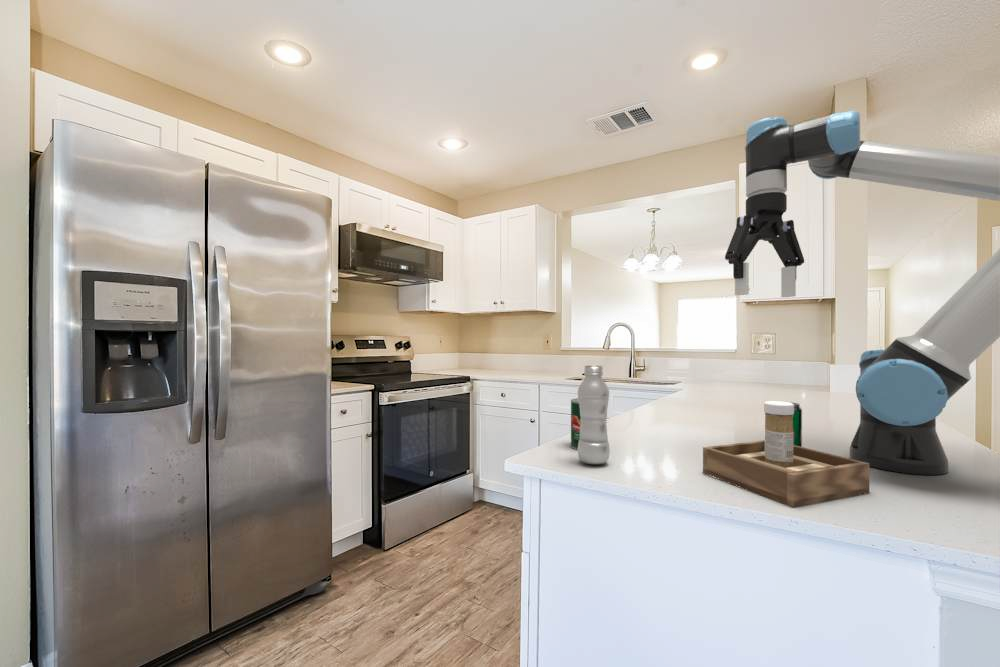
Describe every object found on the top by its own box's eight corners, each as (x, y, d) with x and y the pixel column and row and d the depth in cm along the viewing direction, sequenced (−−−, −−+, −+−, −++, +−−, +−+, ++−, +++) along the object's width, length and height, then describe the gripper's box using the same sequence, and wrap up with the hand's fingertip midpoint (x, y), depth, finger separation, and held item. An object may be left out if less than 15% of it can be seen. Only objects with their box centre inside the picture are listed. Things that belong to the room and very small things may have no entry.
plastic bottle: (615, 463, 93) (616, 366, 93) (598, 470, 88) (598, 368, 88) (588, 457, 98) (588, 364, 98) (570, 463, 93) (571, 366, 93)
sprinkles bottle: (779, 472, 84) (779, 400, 84) (800, 480, 79) (800, 403, 79) (757, 474, 83) (758, 400, 83) (778, 482, 78) (778, 404, 78)
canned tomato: (602, 443, 110) (602, 398, 110) (607, 452, 102) (607, 403, 102) (569, 442, 111) (569, 397, 111) (571, 451, 103) (571, 402, 103)
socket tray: (771, 463, 93) (771, 439, 93) (869, 493, 76) (869, 463, 76) (702, 473, 86) (703, 447, 86) (793, 507, 70) (793, 475, 70)
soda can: (806, 464, 93) (806, 405, 93) (779, 462, 94) (779, 404, 94) (795, 457, 98) (795, 401, 98) (769, 456, 99) (769, 401, 99)
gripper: (790, 206, 104) (790, 298, 104) (706, 194, 95) (706, 295, 95) (824, 197, 97) (823, 296, 97) (736, 183, 88) (736, 292, 88)
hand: (765, 296), depth 96 cm, fingers open, 13 cm apart
